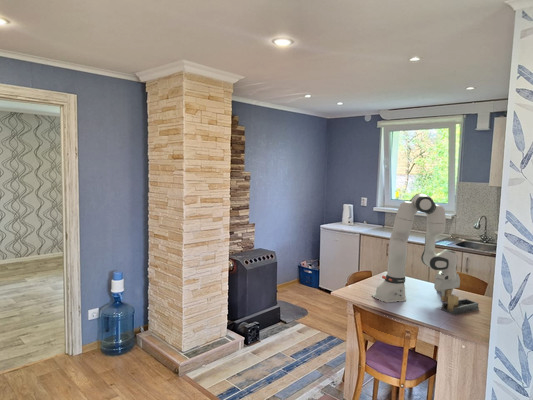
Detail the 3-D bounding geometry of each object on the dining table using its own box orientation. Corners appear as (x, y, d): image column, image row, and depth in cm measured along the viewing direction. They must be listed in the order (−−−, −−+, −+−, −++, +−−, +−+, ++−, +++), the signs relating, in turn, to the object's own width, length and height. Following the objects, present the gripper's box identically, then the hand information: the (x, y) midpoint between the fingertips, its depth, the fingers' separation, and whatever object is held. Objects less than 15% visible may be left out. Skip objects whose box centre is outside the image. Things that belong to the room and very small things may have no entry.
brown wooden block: (450, 301, 237) (451, 289, 236) (446, 302, 235) (447, 290, 234) (444, 299, 241) (445, 287, 240) (440, 299, 239) (441, 288, 238)
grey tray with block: (454, 315, 214) (455, 299, 213) (441, 309, 222) (442, 294, 221) (478, 309, 224) (479, 294, 223) (464, 304, 232) (466, 289, 231)
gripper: (454, 271, 243) (452, 291, 244) (433, 274, 234) (431, 295, 235) (463, 274, 237) (461, 294, 239) (441, 277, 228) (440, 299, 230)
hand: (446, 295), depth 237 cm, fingers closed on brown wooden block, 4 cm apart
